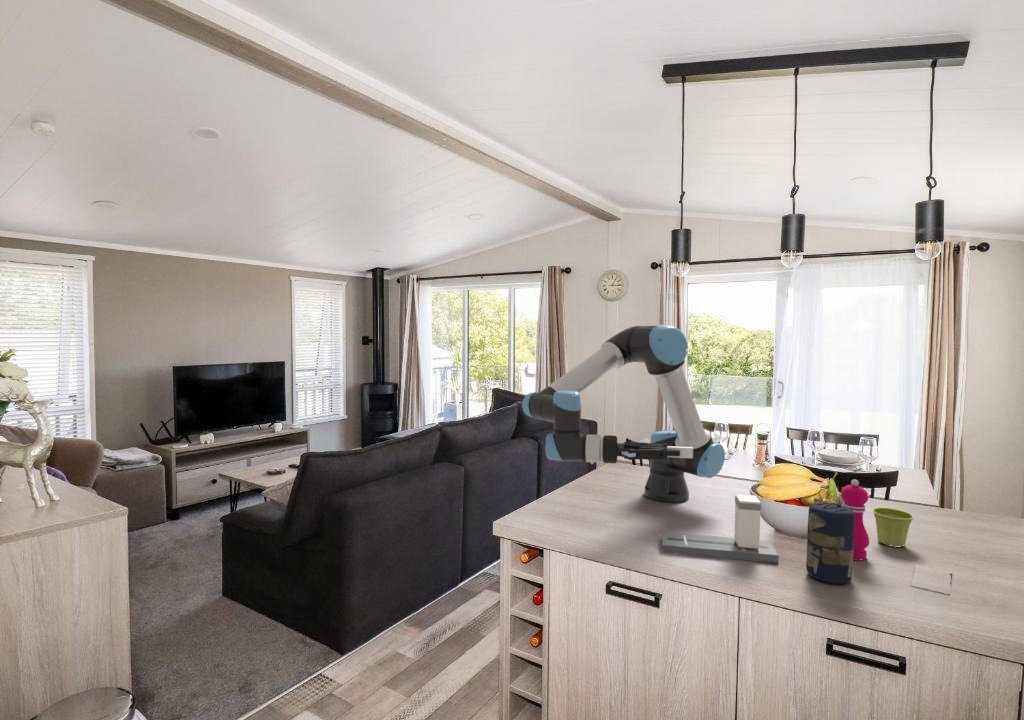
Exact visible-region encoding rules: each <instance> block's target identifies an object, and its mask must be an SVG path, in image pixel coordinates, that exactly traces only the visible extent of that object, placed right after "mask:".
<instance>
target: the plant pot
mask: <svg viewBox="0 0 1024 720" xmlns="http://www.w3.org/2000/svg"><path fill="white" fill-rule="evenodd" d="M871 511H872V513H873V516H874V518H875V524H876V535H877V536H876V537H877V542H878V541H879V542H881V543H883V544H882V545H885V544H886V545H885V546H887V545H892V546H903V545H905V546H906V542H907V537H908V532H909V529H910V525H911V523H912V521H913V520H914V518H915V516H914V515H913V514H912V513H910V512H907V511H904V510H900V509H896V508H891V507H890V508H889V507H875V508H874V507H873V508H872V510H871ZM879 542H878V543H879ZM881 543H880V544H881Z"/></svg>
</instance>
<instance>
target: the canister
mask: <svg viewBox="0 0 1024 720" xmlns="http://www.w3.org/2000/svg"><path fill="white" fill-rule="evenodd" d="M854 524H855V514H854V512H853V510H851V509H850V508H848V507H845V506H843V504H842V505H841V504H840V503H836V502H825V501H824V502H823V501H821V502H813V503H812V504H810V505H809V507H808V516H807V534H806V561H805V562H806V564H805V568H806V572H807V573H808V575H810V576H811V577H813V578H814V579H817V580H819V581H822V582H825V583H830V584H836V585H840V584H843V585H844V584H847V583H849V582H850V581H852V578H853V569H854V568H853V565H854V560H853V552H854V546H853V545H854Z"/></svg>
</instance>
